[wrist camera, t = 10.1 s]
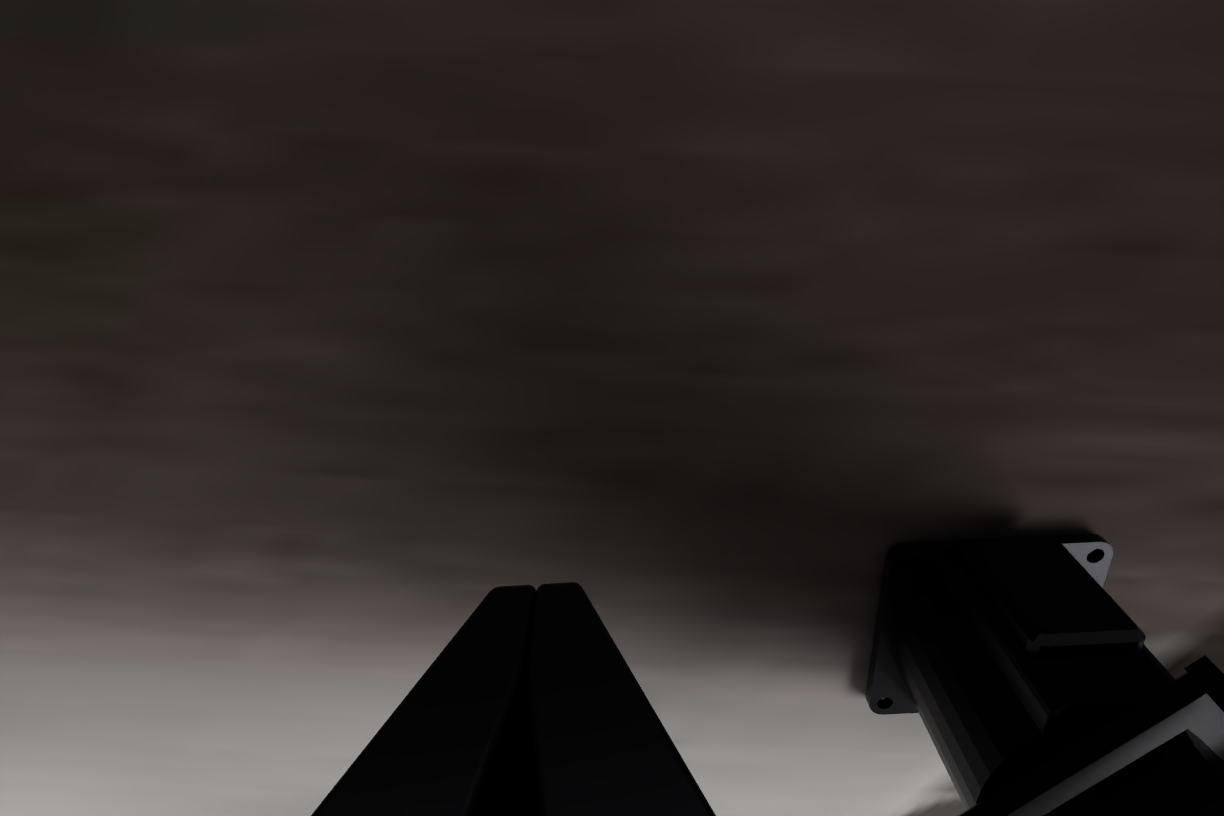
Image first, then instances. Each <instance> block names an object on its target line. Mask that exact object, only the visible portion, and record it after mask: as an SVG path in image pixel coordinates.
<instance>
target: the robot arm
mask: <svg viewBox="0 0 1224 816" xmlns="http://www.w3.org/2000/svg"><path fill="white" fill-rule="evenodd" d="M1092 550H1094V551H1093V552H1092V553H1090V554H1089V552H1091V551H1092ZM1112 556H1113V549H1112V547H1111V545H1110V544H1109V543H1108V542H1107V541H1106V540H1105V539H1104V538H1103V537H1101V536H1099V535H1098V534H1076V535H1056V536H1052V535H1047V536H1028V537H1008V538H988V539H972V540H957V541H937V542H917V543H903V544H898V545H896V546H894V547H893V548H891V550H890V551H889V552H888V553H887V556H886V559H885V566H884V573H883V580H882V586H881V593H880V600H879V607H878V614H877V620H876V627H875V634H874V641H873V647H872V654H871V661H870V668H869V675H868V681H867V688H866V700H867V702H868V704H869V707H870V709H871V710H872V711H873V712H874V713H877V714H901V713H919V714H920V716H921V718H922V720H923V722H924V724H925V726H926V728H927V730H928V733H929V735H930V737H931V739H932V741H933V743H934V745H935V747H936V749H937V751H938V753H939V755H940V757H941V759H942V761H943V763H944V765H945V768H946V770H947V772H948V774H949V776H950V778H951V780H952V782H953V784H954V786H955V788H956V790H957V792H958V794H959V796H960V798H961V800H962V802H963V805H964V807H965V808H966V811H964V812H963V813H961V814H959V815H958V816H1224V674H1223V673H1222V672H1221V671H1220V670H1219V669H1218V668H1217V667H1216V666H1215V665H1214V664H1213V663H1212V662H1211V661H1210V660H1209V659H1208V658H1207V657H1206V656H1205V655H1204V656H1203V657H1201V658H1200V659H1198V660H1196V661H1195V662H1193V663H1192V664H1190V665H1189V666H1187V667H1185V668H1184V669H1185V670H1186V671H1187V672H1186V673H1184V674H1183V675H1181V676H1180V677H1178V678H1176V679H1175V678H1174V677H1173V676H1172V675H1171V674H1170V673H1169V672H1168V671H1167V670H1166V668H1165V667H1164V666H1163V665H1162V664H1161V663H1160V662H1159V661H1158V660H1157V658H1156V657H1155V656H1154V655H1153V654H1152V653H1151V652H1150V651H1149V650H1148V649H1147V647H1146V646H1145V645H1144V641H1145V638H1146V636H1145V634H1144V632H1143V631H1142V630H1141V629H1140V628H1139V627H1138V626H1137V625H1136V624H1135V623H1134V621H1133V620H1132V619H1131V618H1130V617H1129V616H1128V615H1127V614H1126V613H1125V612H1124V611H1123V610H1122V608H1121V607H1120V606H1119V605H1118V604H1117V603H1116V602H1115V601H1114V600H1113V599H1112V598H1111V596H1110V595H1109V594H1108V593H1107V592H1106V591H1105V590H1104V589H1103V585H1104V582H1105V578H1106V575H1107V572H1108V569H1109V565H1110V562H1111V559H1112ZM908 558H910V560H909V561H908V562H907V563H904V564H900V562H901V561H903V560H904V559H908ZM882 698H884V699H882ZM311 816H716V815H715V813H714V812H713V810H712V808H711V807H710V805H709V803H708V801H707V800H706V798H705V796H704V795H703V793H702V791H701V790H700V788H699V786H698V784H697V783H696V781H695V779H694V778H693V776H692V774H691V772H690V771H689V769H688V767H687V766H686V764H685V762H684V761H683V759H682V757H681V755H680V754H679V752H678V750H677V749H676V747H675V745H674V743H673V742H672V740H671V738H670V737H669V735H668V733H667V731H666V730H665V728H664V726H663V725H662V723H661V721H660V720H659V718H658V716H657V714H656V713H655V711H654V709H653V708H652V706H651V704H650V702H649V701H648V699H647V697H646V696H645V694H644V692H643V691H642V689H641V687H640V685H639V684H638V682H637V680H636V679H635V677H634V675H633V673H632V672H631V670H630V668H629V667H628V665H627V663H626V661H625V660H624V658H623V656H622V655H621V653H620V651H619V650H618V648H617V646H616V644H615V643H614V641H613V639H612V638H611V636H610V634H609V632H608V631H607V629H606V627H605V626H604V624H603V622H602V621H601V619H600V617H599V615H598V614H597V612H596V610H595V609H594V607H593V605H592V603H591V602H590V600H589V598H588V597H587V595H586V593H585V592H584V590H583V588H582V587H581V586H580V585H579V584H578V583H574V582H570V583H553V584H543V585H541V586H539V587H538V589H537V591H536V590H535V588H534V587H533V586H531V585H519V586H502V587H496V588H494V589H492V590H491V591H490V592H489V593H488V594H487V596H486V597H485V598H484V599H483V601H482V602H481V603H480V604H479V606H478V607H477V608H476V609H475V611H474V612H473V613H472V614H471V616H470V617H469V618H468V620H467V621H466V622H465V623H464V625H463V626H462V627H461V628H460V630H459V631H458V632H457V633H456V635H455V636H454V637H453V638H452V640H451V641H450V642H449V643H448V645H447V646H446V647H445V648H444V650H443V651H442V652H441V653H440V655H439V656H438V657H437V658H436V660H435V661H434V662H433V663H432V665H431V666H430V667H429V668H428V670H427V671H426V672H425V673H424V675H423V676H422V677H421V678H420V680H419V681H418V682H417V683H416V685H415V686H414V687H413V688H412V690H411V691H410V692H409V693H408V695H407V696H406V697H405V699H404V700H403V701H402V702H401V704H400V705H399V706H398V707H397V709H396V710H395V711H394V712H393V714H392V715H391V716H390V717H389V719H388V720H387V721H386V722H385V724H384V725H383V726H382V727H381V729H380V730H379V731H378V732H377V734H376V735H375V736H374V737H373V739H372V740H371V741H370V742H369V744H368V745H367V746H366V747H365V749H364V750H363V751H362V752H361V754H360V755H359V756H358V757H357V759H356V760H355V761H354V762H353V764H352V765H351V766H350V767H349V769H348V770H347V771H346V772H345V774H344V775H343V776H342V777H341V779H340V780H339V781H338V783H337V784H336V785H335V786H334V788H333V789H332V790H331V791H330V793H329V794H328V795H327V796H326V798H325V799H324V800H323V801H322V803H321V804H320V805H319V806H318V808H317V809H316V810H315V811H314V813H313V814H312V815H311Z"/></svg>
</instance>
